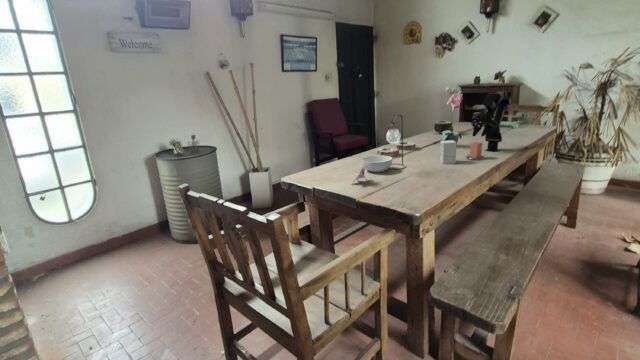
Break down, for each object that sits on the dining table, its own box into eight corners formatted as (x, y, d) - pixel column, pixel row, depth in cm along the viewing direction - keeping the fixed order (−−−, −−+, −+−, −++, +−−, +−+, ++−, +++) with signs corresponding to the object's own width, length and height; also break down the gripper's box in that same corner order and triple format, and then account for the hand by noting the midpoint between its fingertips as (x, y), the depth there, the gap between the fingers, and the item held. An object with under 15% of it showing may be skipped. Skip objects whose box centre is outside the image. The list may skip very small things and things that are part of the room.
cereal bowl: (374, 165, 203) (374, 153, 201) (398, 169, 192) (398, 157, 190) (356, 171, 192) (356, 159, 190) (380, 176, 181) (380, 163, 179)
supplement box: (452, 160, 202) (453, 139, 199) (455, 163, 195) (456, 142, 192) (439, 161, 203) (440, 140, 200) (442, 164, 196) (443, 142, 193)
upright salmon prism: (474, 155, 207) (475, 141, 205) (481, 156, 203) (482, 142, 201) (469, 156, 205) (470, 142, 202) (476, 158, 201) (477, 143, 199)
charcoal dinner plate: (473, 155, 211) (473, 154, 211) (487, 158, 203) (488, 156, 202) (462, 158, 206) (462, 156, 206) (477, 161, 198) (477, 159, 198)
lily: (367, 180, 179) (358, 165, 178) (381, 176, 169) (371, 160, 168) (352, 192, 173) (343, 176, 172) (366, 188, 163) (356, 172, 162)
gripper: (469, 108, 212) (458, 130, 213) (487, 105, 194) (475, 130, 195) (484, 116, 214) (473, 138, 215) (503, 114, 196) (491, 138, 196)
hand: (477, 136), depth 205 cm, fingers open, 9 cm apart
